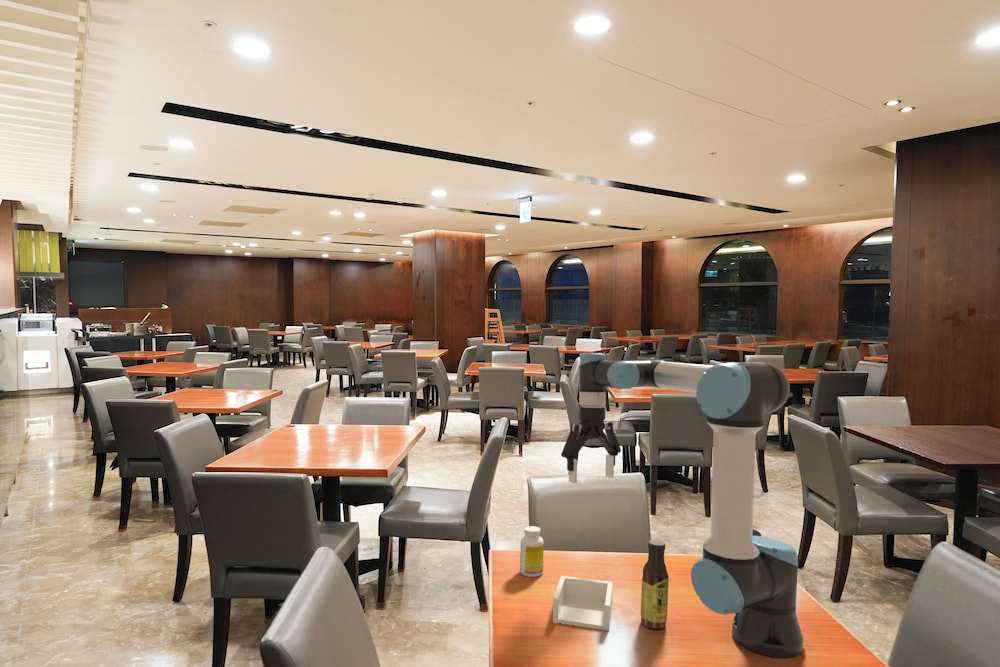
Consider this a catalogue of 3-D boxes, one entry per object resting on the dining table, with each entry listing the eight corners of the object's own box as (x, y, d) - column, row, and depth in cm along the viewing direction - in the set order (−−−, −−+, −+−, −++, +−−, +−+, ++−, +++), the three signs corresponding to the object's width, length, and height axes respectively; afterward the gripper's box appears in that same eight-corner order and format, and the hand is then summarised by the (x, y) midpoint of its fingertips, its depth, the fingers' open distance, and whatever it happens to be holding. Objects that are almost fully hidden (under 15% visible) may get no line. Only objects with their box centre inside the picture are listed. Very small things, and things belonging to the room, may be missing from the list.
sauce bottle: (660, 633, 140) (663, 550, 140) (635, 624, 144) (638, 543, 144) (671, 622, 146) (673, 542, 145) (646, 614, 149) (649, 535, 149)
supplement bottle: (547, 574, 171) (548, 530, 171) (529, 579, 168) (530, 534, 167) (533, 566, 177) (534, 523, 176) (515, 571, 173) (516, 527, 173)
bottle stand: (560, 598, 157) (561, 575, 157) (612, 605, 154) (612, 582, 154) (552, 622, 144) (553, 598, 144) (609, 630, 141) (609, 605, 141)
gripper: (616, 403, 183) (615, 472, 182) (549, 406, 170) (548, 481, 169) (633, 405, 176) (632, 477, 176) (565, 409, 163) (564, 487, 163)
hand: (591, 479), depth 173 cm, fingers open, 13 cm apart
